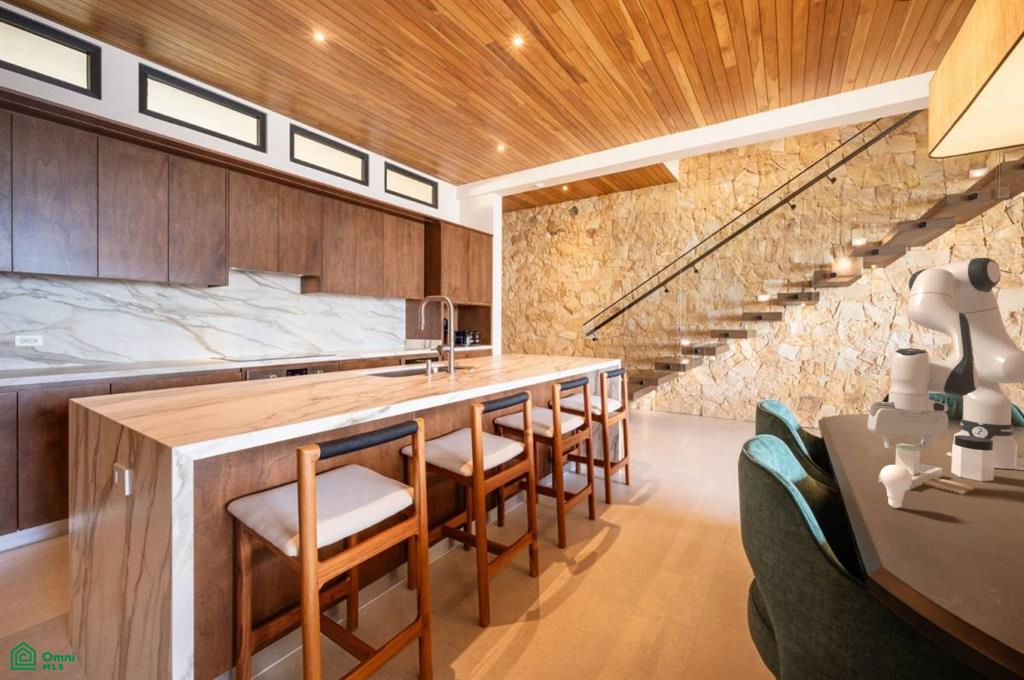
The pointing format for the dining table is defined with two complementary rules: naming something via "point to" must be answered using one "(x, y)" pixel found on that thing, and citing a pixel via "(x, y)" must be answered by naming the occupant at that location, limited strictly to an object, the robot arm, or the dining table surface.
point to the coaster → (949, 485)
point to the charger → (908, 457)
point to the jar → (973, 458)
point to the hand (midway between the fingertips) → (905, 448)
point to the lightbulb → (895, 483)
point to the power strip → (923, 475)
